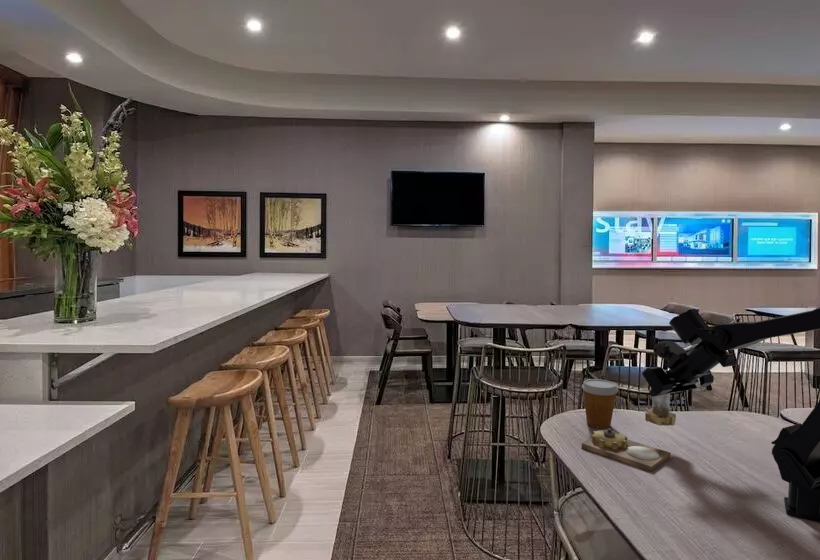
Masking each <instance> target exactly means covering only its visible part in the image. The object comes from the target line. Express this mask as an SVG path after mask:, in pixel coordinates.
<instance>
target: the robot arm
mask: <svg viewBox="0 0 820 560" xmlns="http://www.w3.org/2000/svg"><path fill="white" fill-rule="evenodd" d="M668 324H669V325H670V327H671V328H672V330H674V332H675V334H676V335H677V336H678V337H679V339H680V340H681V341H682V342H683V344H685V345H687V344H690V345H691V346H694V345H695V346H694V347H692V348H691V349H690V350H689V351H686V349H684V348H683V347H682V346H680V345H679V344H678V343H676V341H673V340H663V341H662V340H661V341H659V342H657V343H656V344H655V345H653V350H652V351H653V354H655V355H656V356H657V357H658V358H660V359H663V360H664V361H665V362H666V363H665V365H666V367H667V369H670V370H664V368H663V367H661V366H650V367H646V368H645V369H644V370H643V371H642V372H641V374H642V376H643V378H644V379H645V382H647V384H648V386H649V387H650V390H649V396H650V397H652V398H653V396H658V395H663V394H669V393H670V394H673V393H680V392H685V391H689V390H695V389H696V390H697V388H698V387H697V385H696V384H697V383H699V382H700V381H701V382H700V383H699V386H700V387H701V388H704V387H708V386H710V385H711V384H713V383H714V382H715V381H714V380H715V379H714V378H715V377H714V375H713V374H712V371H711V370H712V369H714V368H715V367H716V366H718V365H719V364H720V365H721V367H722V368H728V367H734V366H735V364H736V362H735V361H736V360H735V359H734V358H735V354H734V353H730V352H728V351H731V350H740V349H745V348H747V347H750V346H753V345H756V344H759V343H761V342H763V341H766V340H768V339H772V338H777V337H783V336H790V335H794V334H799V333H801V334H802V333H806V332H812V331H817V330H820V307H819V306H818V307H817V308H814V309H812V310H807V311H802V312H797V313H793V314H787V315H783V316H779V317H778V316H777V317H774V318H768V319H764V320H759V321H736V322H726V323H718V324H715V325H711V326H709V324H708V323H707V322H706V321H705V320H704V318H703V317H702V316H701V314H700V313H699V311H698V310H697V308H689V309H688V310H686V311H685V312H681V313H680V314H678V315H677V316H676V315H675V316H674V317H672V318H671V320H670V321H669V323H668ZM699 379H700V380H699ZM770 444H772V445H773V446H772V449H771V455H772V457H773V459H774V461H775V463H776V465H777V468H778V471H779V475H780V477H781V480H782V481H784V482H786V483H788V493H787V497H786V496H784V497H783V501H784V502H783V503H784V508H785V509H784V510H785V513H786V514H787V515H791V516H793V517H799V518H804V519H806V520H811V521H816V522H817V523H820V400H819V401H818V402H817V403H816V405H815V406H814V407H813V409H812V410H811V411H810V413H809V414H808V415H807V417H806V418H805V420H804V421H803V422H802V424H801V423H797V424H793V425H789V426H785V427H782V428H781V429H780V431H779V434H778V436H777V438H776V439H774V440H773V441H771V443H770Z"/></svg>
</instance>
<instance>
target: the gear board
mask: <svg viewBox="0 0 820 560" xmlns="http://www.w3.org/2000/svg"><path fill="white" fill-rule="evenodd" d="M581 449H583V450H587V451H589V450H590V452H592V451H593V453H595V452H597V453H596V454H598V453H599V455H601V456H605V457H607V458H610V457H611V458H610V459H613V458H614V459H613V460H616V459H617V460H616V461H618V460H620V461H619V462H621V461H623V462H622V463H624V462H625V464H627V463H628V465H630V464H631V465H630V466H633V467H636V468H640V469H643V470H644V471H647V472H653V471H654V470H656V469H657V468H658V467H660V466H661V465H662V464H664V463H665V462H666V461H668V460H669V459H671V456H672V453H671V452H669V451H667V450H663V449H659V448H657V447H654V446H651V445H650V446H649V445H648V444H644V443H640V442H637V441H633V440H630V439H628V436H627V435H623V434H622V433H620V432H619V431H616V430H612V428H611V427H609V428H606V429H601V430H593V431H592V434H591V437H590V438H589V439H587V440H585V441H583V442H582V443H581Z"/></svg>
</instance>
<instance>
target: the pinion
mask: <svg viewBox="0 0 820 560" xmlns="http://www.w3.org/2000/svg"><path fill="white" fill-rule="evenodd" d="M670 400H671V393H669V394H663V395H658V396H653V397H652V405H651V406H652V408H651V409H650V408H648V409H646V412H645V415H644V418H645V421H646V422H650V423H652V424H654V425H657V426H660V427H661V426H664V427H665V426H667V427H668V426H672V427H673V426H675V425H676V420H677V419H676V417H677V414H676V413H674V412H671V411H670V403H671V402H670Z"/></svg>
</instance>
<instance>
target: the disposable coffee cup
mask: <svg viewBox="0 0 820 560" xmlns="http://www.w3.org/2000/svg"><path fill="white" fill-rule="evenodd" d="M581 389H582V390H583V398H584V399H583V400H584V409H585V416H586V424H587V425H588V426H589V425H590V427H591V426H593V427H592V428H595V427H598V428H597V429H601V428H605V429H608V427H609V428H611V426H612V425H611V424H612V418H613V413H614V407H615V402H616V395H617V392H618V391H619V388H618V387H617V383H616V382H613V381H610V380H607V379H606V380H605V379H602V378H589V379H585V380H584V381H583V384H582V385H581Z"/></svg>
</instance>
